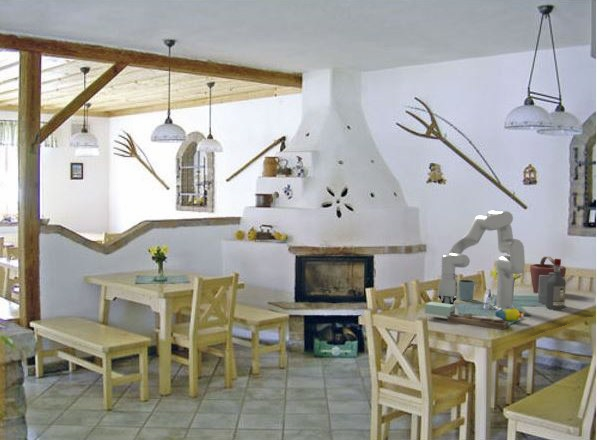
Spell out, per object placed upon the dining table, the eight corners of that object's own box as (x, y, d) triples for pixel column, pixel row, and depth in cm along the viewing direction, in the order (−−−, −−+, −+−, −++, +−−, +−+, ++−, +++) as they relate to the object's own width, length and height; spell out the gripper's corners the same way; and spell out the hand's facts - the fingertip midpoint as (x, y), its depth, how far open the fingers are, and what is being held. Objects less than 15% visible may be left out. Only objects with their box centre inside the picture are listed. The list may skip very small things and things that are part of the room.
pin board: (452, 318, 374) (453, 310, 374) (508, 326, 359) (508, 318, 359) (447, 321, 367) (447, 313, 366) (503, 329, 351) (504, 321, 351)
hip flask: (564, 306, 419) (566, 273, 418) (562, 307, 416) (564, 274, 415) (538, 302, 430) (540, 270, 428) (536, 303, 426) (538, 271, 425)
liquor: (543, 307, 412) (546, 258, 410) (555, 306, 416) (557, 258, 414) (555, 310, 404) (557, 260, 402) (566, 309, 408) (569, 259, 406)
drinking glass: (468, 297, 439) (469, 279, 439) (477, 300, 430) (478, 281, 429) (454, 298, 436) (455, 279, 436) (463, 301, 427) (464, 282, 426)
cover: (430, 310, 381) (430, 301, 381) (455, 313, 374) (455, 304, 373) (424, 313, 373) (425, 304, 373) (449, 316, 366) (450, 307, 366)
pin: (445, 309, 392) (445, 295, 391) (452, 310, 390) (452, 296, 389) (442, 310, 389) (443, 296, 388) (449, 311, 387) (450, 297, 386)
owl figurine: (513, 312, 355) (485, 308, 365) (512, 328, 356) (485, 324, 365) (533, 304, 377) (506, 301, 386) (532, 320, 377) (506, 317, 387)
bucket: (566, 297, 450) (568, 259, 448) (530, 295, 455) (532, 258, 453) (560, 291, 474) (562, 255, 472) (527, 289, 479) (529, 253, 477)
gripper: (464, 276, 387) (463, 308, 388) (436, 274, 395) (435, 305, 397) (460, 278, 380) (459, 311, 382) (431, 276, 389) (431, 307, 390)
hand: (447, 307), depth 389 cm, fingers closed on pin, 4 cm apart
